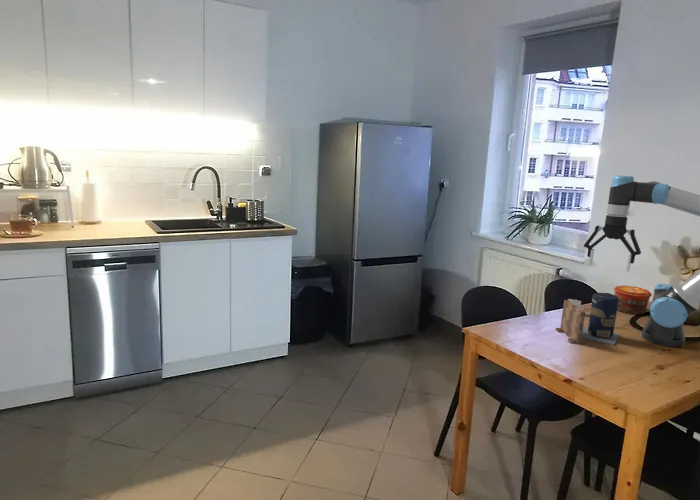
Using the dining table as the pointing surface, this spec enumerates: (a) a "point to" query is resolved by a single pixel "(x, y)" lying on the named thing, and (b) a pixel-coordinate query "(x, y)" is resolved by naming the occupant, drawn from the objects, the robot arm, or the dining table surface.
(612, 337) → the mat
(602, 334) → the canister
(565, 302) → the tan upright piece
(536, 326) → the dining table surface
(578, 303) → the architectural model
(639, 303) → the food container
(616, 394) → the dining table surface
